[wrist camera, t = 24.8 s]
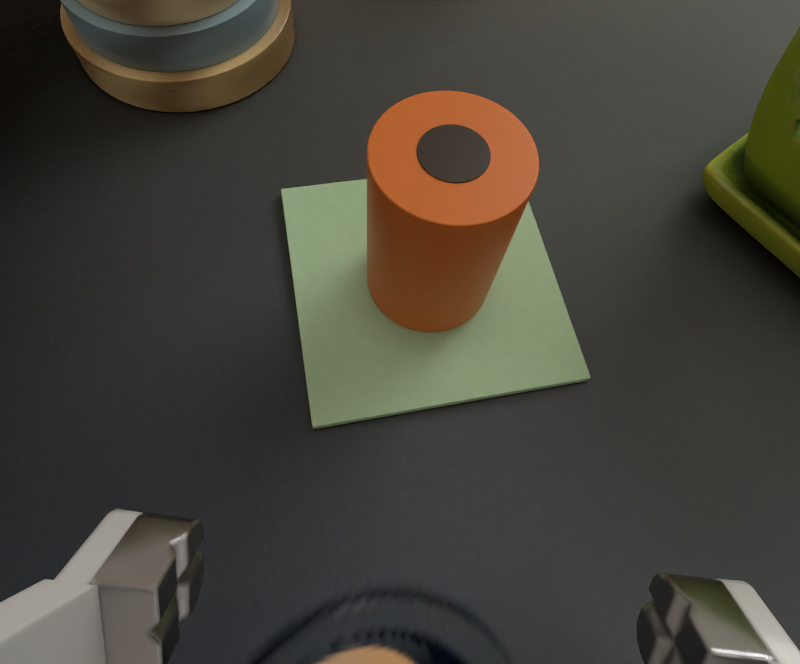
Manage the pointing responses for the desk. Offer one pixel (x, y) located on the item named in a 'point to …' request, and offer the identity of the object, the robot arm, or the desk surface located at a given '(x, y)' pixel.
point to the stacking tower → (180, 48)
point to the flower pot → (766, 166)
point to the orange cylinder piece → (443, 205)
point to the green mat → (408, 349)
